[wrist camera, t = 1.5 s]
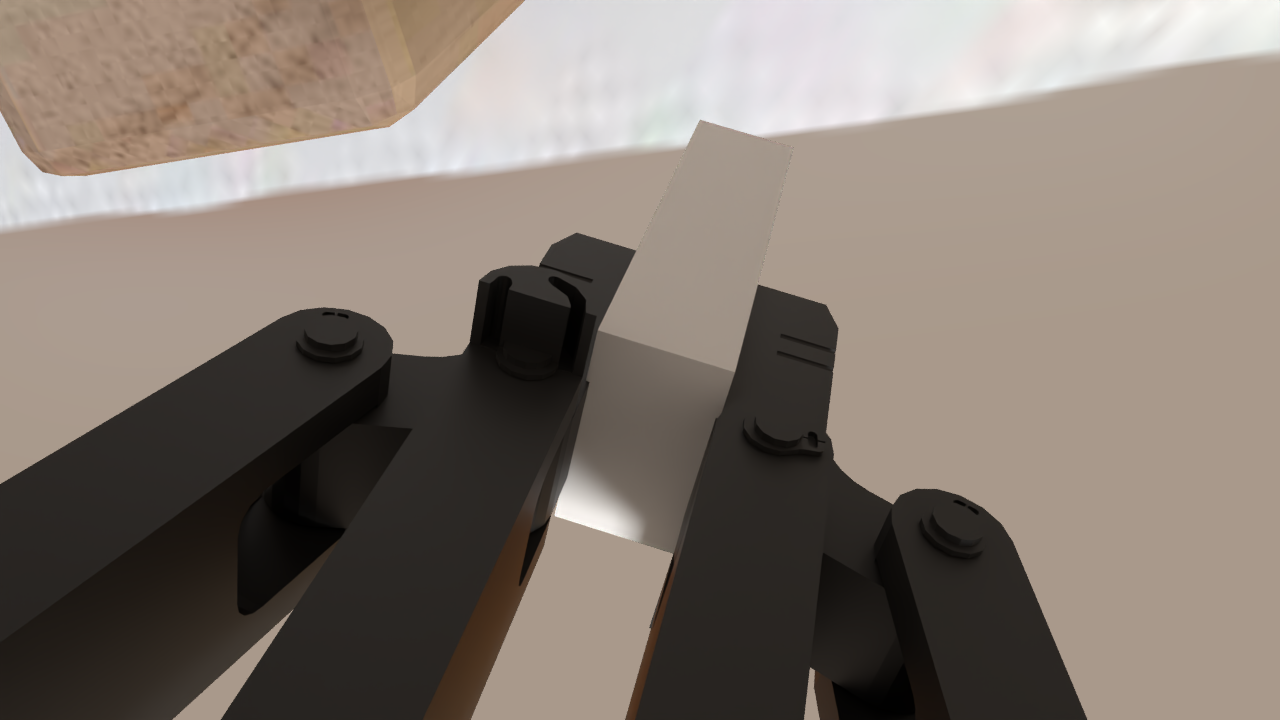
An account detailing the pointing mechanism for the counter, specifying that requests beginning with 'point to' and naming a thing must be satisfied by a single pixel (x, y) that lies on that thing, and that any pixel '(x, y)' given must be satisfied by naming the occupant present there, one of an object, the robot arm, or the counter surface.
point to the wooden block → (219, 73)
